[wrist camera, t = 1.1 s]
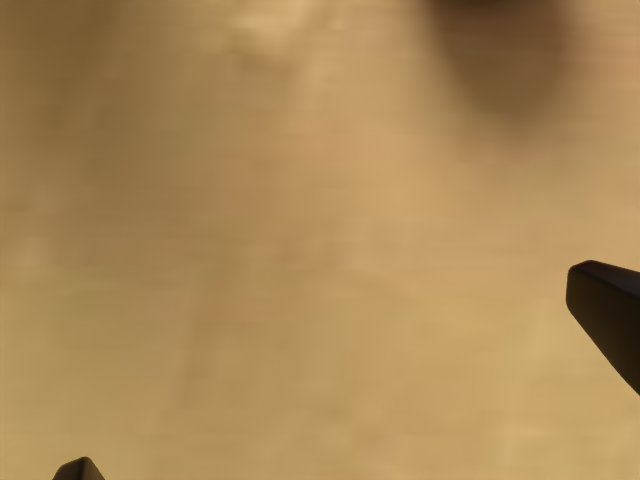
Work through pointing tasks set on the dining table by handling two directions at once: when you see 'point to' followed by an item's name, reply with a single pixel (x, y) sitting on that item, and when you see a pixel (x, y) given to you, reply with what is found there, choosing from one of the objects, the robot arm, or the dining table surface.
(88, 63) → the dining table surface
